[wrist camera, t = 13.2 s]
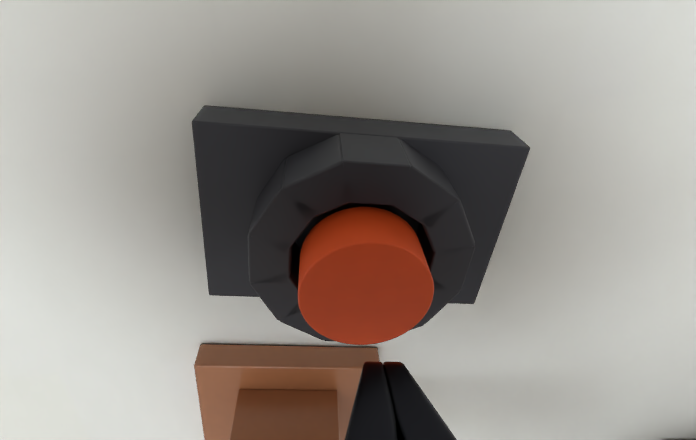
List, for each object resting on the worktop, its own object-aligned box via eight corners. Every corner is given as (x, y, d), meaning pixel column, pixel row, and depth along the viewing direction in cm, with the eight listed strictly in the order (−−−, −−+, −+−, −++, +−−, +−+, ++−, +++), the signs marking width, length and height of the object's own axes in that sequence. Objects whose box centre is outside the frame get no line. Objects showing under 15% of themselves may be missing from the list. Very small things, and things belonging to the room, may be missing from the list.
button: (431, 209, 11) (448, 246, 10) (408, 304, 13) (419, 346, 12) (302, 201, 11) (300, 239, 10) (297, 300, 13) (295, 344, 11)
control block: (511, 130, 14) (564, 176, 11) (462, 279, 17) (493, 345, 14) (204, 104, 13) (169, 148, 10) (217, 269, 16) (194, 338, 13)
